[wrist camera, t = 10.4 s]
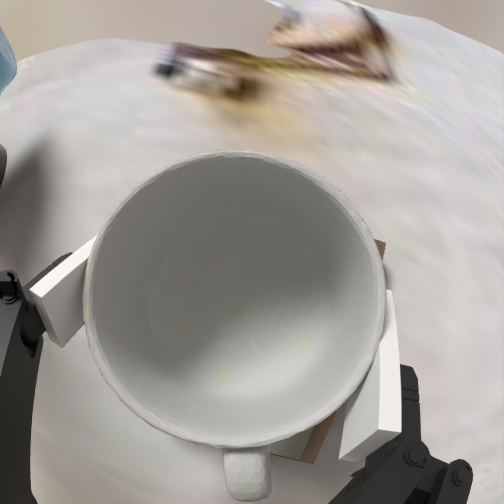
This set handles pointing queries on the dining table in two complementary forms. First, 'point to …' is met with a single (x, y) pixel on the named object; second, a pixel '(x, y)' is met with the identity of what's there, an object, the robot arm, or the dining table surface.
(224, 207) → the teacup
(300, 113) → the dining table surface
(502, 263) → the dining table surface
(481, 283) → the dining table surface
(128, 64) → the dining table surface
